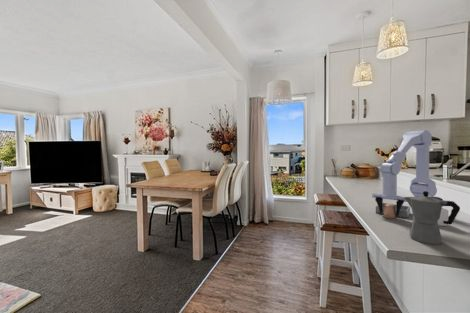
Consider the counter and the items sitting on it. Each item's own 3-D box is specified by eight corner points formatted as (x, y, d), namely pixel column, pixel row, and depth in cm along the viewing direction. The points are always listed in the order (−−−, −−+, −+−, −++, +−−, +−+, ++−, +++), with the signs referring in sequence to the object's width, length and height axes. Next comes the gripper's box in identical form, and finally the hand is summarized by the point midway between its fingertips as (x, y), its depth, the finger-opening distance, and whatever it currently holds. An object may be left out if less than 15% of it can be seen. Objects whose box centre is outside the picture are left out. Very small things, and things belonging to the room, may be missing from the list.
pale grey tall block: (448, 226, 93) (448, 199, 93) (429, 225, 94) (429, 198, 94) (436, 221, 100) (436, 195, 100) (419, 220, 101) (419, 195, 101)
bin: (410, 213, 113) (410, 206, 112) (406, 218, 104) (406, 211, 104) (380, 208, 122) (380, 202, 122) (375, 212, 113) (375, 206, 113)
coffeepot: (399, 236, 82) (399, 190, 81) (407, 231, 87) (408, 187, 87) (456, 252, 69) (457, 197, 69) (462, 244, 74) (462, 193, 74)
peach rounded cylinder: (395, 216, 106) (395, 205, 106) (394, 219, 103) (394, 206, 103) (384, 215, 110) (384, 203, 109) (382, 217, 106) (382, 205, 106)
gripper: (370, 186, 108) (370, 212, 109) (406, 189, 98) (406, 218, 98) (374, 184, 113) (373, 209, 114) (409, 187, 103) (408, 215, 103)
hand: (389, 213), depth 106 cm, fingers open, 6 cm apart
